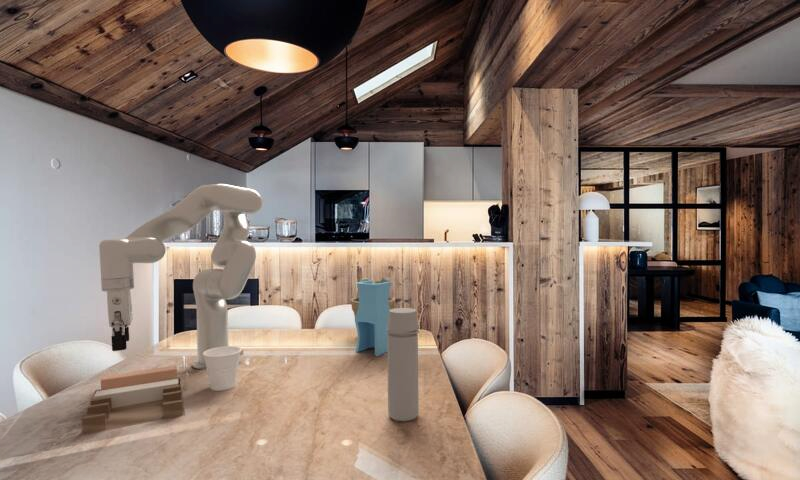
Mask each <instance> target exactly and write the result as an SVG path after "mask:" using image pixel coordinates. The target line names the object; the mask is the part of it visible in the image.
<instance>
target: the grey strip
mask: <svg viewBox="0 0 800 480" xmlns="http://www.w3.org/2000/svg"><path fill="white" fill-rule="evenodd" d="M172 386H178V379H173V380H167V381H160V382H154V383H147V384H141V385H134V386H128V387H121V388H115V389H108V390H102V391H96V394H95V393H94V396H93V399H97V398H103V397H109V396H111V405H112V408H116V407H121V406H127V405H133V404H139V403H145V402H151V401H157V400H162V399H163V388H166V387H172Z"/></svg>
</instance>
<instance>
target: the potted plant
mask: <svg viewBox="0 0 800 480" xmlns="http://www.w3.org/2000/svg"><path fill="white" fill-rule="evenodd" d="M369 280H371V279H370V278H369V277H362V278H361V279H360V280H359V282H364V281H369ZM385 282H392V279H391V277H389V276H384V277H382V279H380V280H378V279H377V280H375V282H374V284H379V283H385ZM357 295H358V297H357V296H356V297H353V298H350V303H351V310H352V311H353V315H354V317H355V316H356V313H357V310H358V306H359V293H358V294H357ZM388 301H389V307H390V310H391V309H395V308H396V307H395V306H396V298H395V297H391V296H389V298H388Z"/></svg>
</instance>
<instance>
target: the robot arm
mask: <svg viewBox="0 0 800 480" xmlns="http://www.w3.org/2000/svg"><path fill="white" fill-rule="evenodd" d="M262 207H263V198H262V195H261V194H260V193H259V192H258V191H257V190H255V189H252V188H246V187H242V186H235V185H231V184H226V183H215V184H214V183H213V184H204V185H200V186H199V187H196V188H195V189H194V190H193V191H191V192H190V193H189V194H188V195H186V196H185V197H184V198H183V199H181V200H180V201H179V202H178V203H176V204H175V205H174V206H172V207H171V208H170V209H168V210H167V211H165V212H163V213H160V215H157V216H155V217H154V218H152V219H151V220H149V221H147V222H145V223H144V224H141V225H140V226H139V227H138V228H136V229H134V231H132V232H131V233H130V234H128V235H127V236H126V237H125V238H112V239H111V238H110V239H104V240H102V241H101V240H100V243H99V245H98V246H99V266H100V285H101V292H106V298H107V299H106V304H107V317H108V325H109V327H110V328H111V351H112V352H117V351H126V350H127V347H128V346H127V342H129V341H130V328H129V327H130V326H131V325H132V323H133V318H134V317H133V307H132V305H133V304H132V295H131V290H134V289H135V280H134V279H135V277H134V264H153V263H157V262H159V261H161V260H162V259H163V258H164V257H165V255H166V251H167V250H166V246H165V244H164V241H166V240H168V239H170V238H173V237H177V236H179V235H183V234H185V233H187V232H189V231H191V230H193V229H194V228H195V227H196V226H197V225H198V224H200V222H202V221H203V220H204V219H205V218H206V217H207V216H209V215H210V214H211V213H212V212H214V211H220V212H221V214H222V216H223V219H224V225H223V228H222V230H221V233H220V234H219V237H218V238H217V241H216V243H215V245H214V246H213V249H212V250H211V254H210V261H211V263H212V264H213V265H214V266H216V267H219V268H206V269H203V270H200V271H199V272H198V273H197V274H196V275H195V276H194V279H193V281H192V290H193V294H194V295H193V296H194V299H195V305H196V307H195V308H196V334H197V335H196V336H197V337H196V341H197V342H196V344H197V359H195V360H194V361H192V367H193V368H195V369H199V370H207V368H206V364H205V359H204V356H203V352H205V351H206V350H209V349H213V348H218V347H227V346H229V316H228V315H229V314H228V313H229V310H228V309H229V308H228V305H227V300H234V299H236V298H238V296H240V294H241V293H242V291H243V290H244V288H245V286H246V284H247V281H248V279H249V278H250V275H251V273H252V270H253V269H254V265H255V263H256V259H257V253H256V249H255V247H254V245H253V244H252V243H251V242H249V241H248V237H249V234H250V225H249V222H248V219H247V216H246V215H253V214H257V213H258V212H259V211H261V208H262ZM221 268H222V269H221ZM243 355H244V349H243V348H241V352H240V356H243Z"/></svg>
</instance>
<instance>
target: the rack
mask: <svg viewBox="0 0 800 480" xmlns="http://www.w3.org/2000/svg"><path fill="white" fill-rule="evenodd" d="M173 379H178V386H172V387H166V388H163V399H162V400H157V401H151V402H145V403H139V404H133V405H127V406H121V407H116V408H112V405H111V396H109V397H103V398H97V399H94V398H92V399H90V404H89V405H87V409H86V411H87V416H83V417H82V419H81V421H82V423H81V425H82V428H81V431H80V433H79V436H82V435H83V436H84V435H88V434H93V433H99V432H104V431H109V430H114V429H120V428H125V427H129V426H134V425H140V424H145V423H150V422H155V421H160V420H161V421H162V420H166V419H171V418H176V417H182V416H186V413H185V412H186V411H185V401H184V400H185V399H184V393H183V388H182V385H181V377H177V378H173ZM173 379H166V380H163V381H167V380H173ZM108 389H114V388H107V389H101V388H100V389H95V391H94V395H95V394H96V391H102V390H108Z"/></svg>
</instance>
